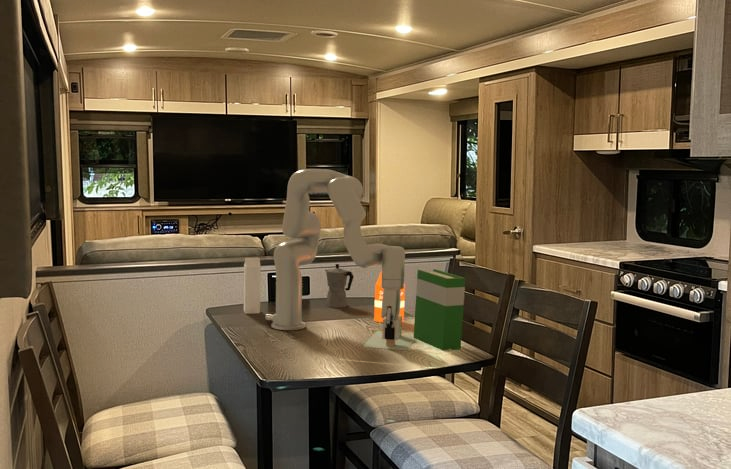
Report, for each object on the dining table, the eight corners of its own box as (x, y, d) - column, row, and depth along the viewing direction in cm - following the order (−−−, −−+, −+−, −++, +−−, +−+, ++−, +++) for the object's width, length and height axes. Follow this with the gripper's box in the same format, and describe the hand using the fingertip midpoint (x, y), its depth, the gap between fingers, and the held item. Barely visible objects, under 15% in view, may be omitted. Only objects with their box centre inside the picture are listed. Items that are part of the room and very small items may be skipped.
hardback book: (413, 337, 238) (417, 269, 235) (431, 335, 241) (435, 269, 239) (442, 351, 223) (447, 278, 220) (460, 349, 226) (465, 278, 223)
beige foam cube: (382, 339, 225) (382, 319, 224) (385, 335, 230) (385, 316, 229) (397, 340, 223) (398, 320, 223) (400, 336, 229) (400, 317, 228)
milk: (260, 313, 271) (261, 258, 269) (244, 313, 270) (245, 259, 267) (258, 310, 277) (259, 256, 275) (243, 310, 275) (244, 256, 273)
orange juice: (392, 325, 257) (394, 273, 255) (373, 321, 262) (375, 270, 260) (404, 322, 263) (405, 271, 261) (385, 318, 268) (387, 268, 266)
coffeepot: (317, 304, 290) (318, 263, 289) (332, 301, 298) (333, 261, 296) (344, 310, 281) (346, 267, 279) (359, 307, 288) (360, 265, 286)
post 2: (392, 336, 239) (393, 316, 238) (394, 334, 241) (394, 315, 240) (400, 337, 238) (400, 317, 237) (401, 335, 241) (402, 315, 240)
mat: (362, 347, 224) (362, 346, 224) (376, 332, 246) (376, 331, 246) (407, 351, 221) (407, 350, 221) (417, 335, 243) (417, 334, 243)
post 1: (386, 345, 226) (386, 325, 225) (387, 343, 228) (388, 323, 228) (393, 346, 225) (394, 325, 225) (395, 344, 228) (395, 324, 227)
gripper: (386, 278, 234) (384, 330, 236) (376, 287, 217) (375, 342, 219) (407, 280, 232) (406, 332, 234) (399, 288, 216) (397, 344, 217)
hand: (391, 336), depth 227 cm, fingers closed on beige foam cube, 5 cm apart
